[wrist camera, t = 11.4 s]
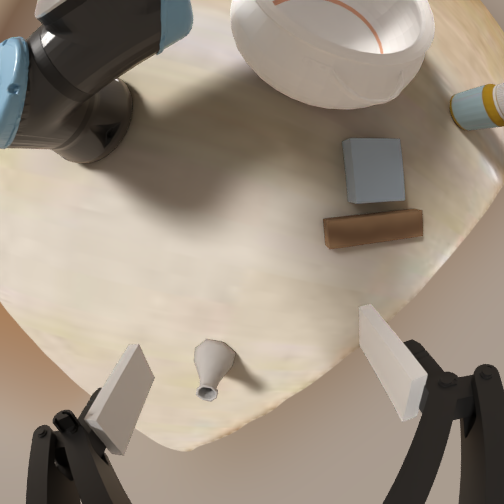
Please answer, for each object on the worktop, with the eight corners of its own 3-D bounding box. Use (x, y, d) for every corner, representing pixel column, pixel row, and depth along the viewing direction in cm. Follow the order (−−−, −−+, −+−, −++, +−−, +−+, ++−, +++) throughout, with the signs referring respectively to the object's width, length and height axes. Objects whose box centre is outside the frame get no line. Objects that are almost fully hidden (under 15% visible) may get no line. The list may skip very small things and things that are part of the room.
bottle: (446, 120, 36) (504, 109, 21) (448, 88, 34) (502, 70, 20) (471, 136, 36) (528, 132, 22) (473, 105, 35) (527, 94, 20)
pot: (412, 122, 36) (478, 105, 21) (250, 135, 38) (249, 106, 22) (367, -13, 29) (401, -60, 13) (221, -11, 31) (210, -73, 15)
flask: (242, 350, 46) (240, 388, 36) (223, 377, 48) (218, 415, 38) (204, 331, 45) (193, 367, 36) (187, 360, 47) (175, 397, 37)
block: (323, 218, 40) (327, 221, 38) (414, 208, 40) (422, 210, 37) (325, 245, 41) (329, 249, 39) (414, 232, 41) (422, 235, 38)
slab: (347, 201, 40) (341, 141, 38) (393, 198, 40) (388, 141, 38) (356, 203, 36) (349, 138, 34) (405, 200, 36) (399, 138, 34)
